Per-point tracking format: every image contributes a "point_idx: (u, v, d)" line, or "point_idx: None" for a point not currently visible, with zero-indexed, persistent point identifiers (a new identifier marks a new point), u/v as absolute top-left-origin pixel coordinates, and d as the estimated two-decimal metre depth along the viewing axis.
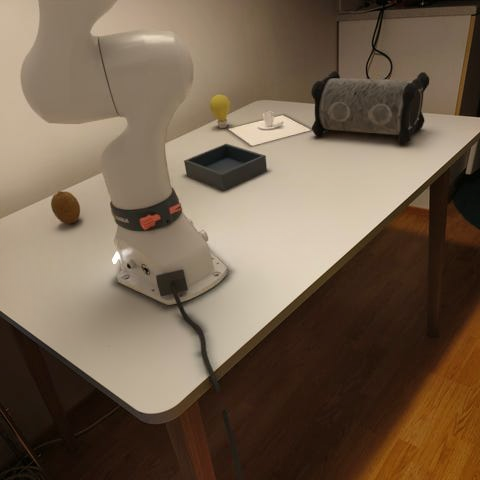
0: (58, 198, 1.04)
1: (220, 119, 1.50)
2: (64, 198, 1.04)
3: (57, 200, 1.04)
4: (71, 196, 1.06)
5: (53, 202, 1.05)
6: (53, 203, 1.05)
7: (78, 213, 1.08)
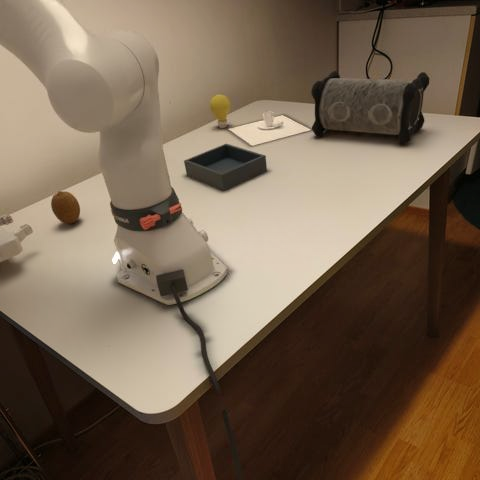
0: (58, 198, 1.04)
1: (220, 119, 1.50)
2: (64, 198, 1.04)
3: (57, 200, 1.04)
4: (71, 196, 1.06)
5: (53, 202, 1.05)
6: (53, 203, 1.05)
7: (78, 213, 1.08)
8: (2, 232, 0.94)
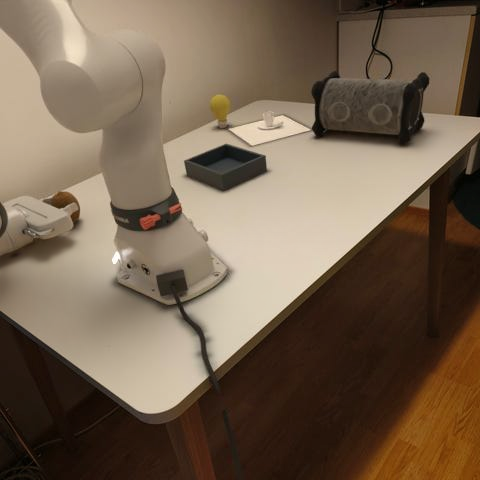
0: (59, 198, 1.04)
1: (220, 119, 1.50)
2: (64, 198, 1.04)
3: (58, 200, 1.04)
4: (71, 196, 1.06)
5: (53, 202, 1.04)
6: (53, 203, 1.05)
7: (78, 213, 1.08)
8: (54, 209, 1.00)
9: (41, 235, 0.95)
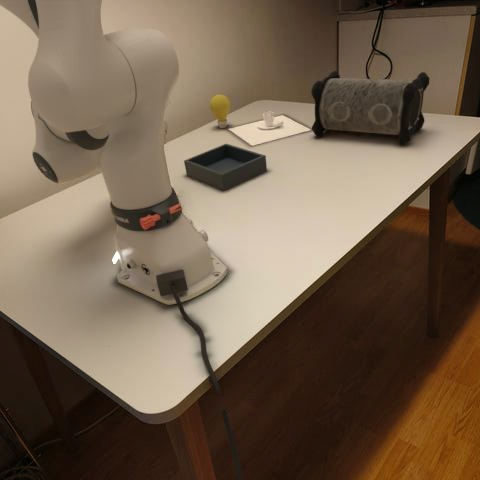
0: None
1: (220, 119, 1.50)
2: None
3: None
4: None
5: None
6: None
7: None
8: None
9: None
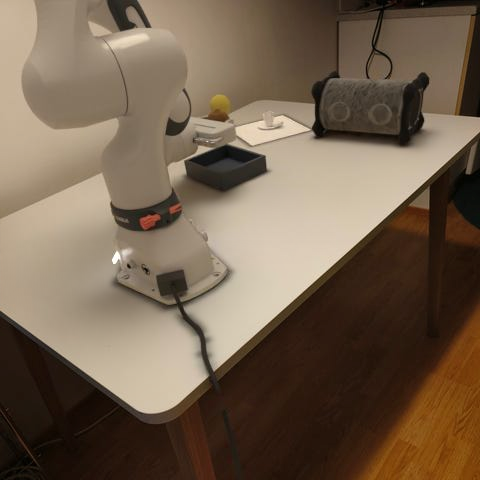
0: (217, 114, 1.11)
1: None
2: (222, 115, 1.11)
3: (216, 116, 1.11)
4: (227, 114, 1.12)
5: (211, 118, 1.11)
6: (211, 119, 1.11)
7: None
8: (218, 122, 1.07)
9: (215, 142, 1.02)
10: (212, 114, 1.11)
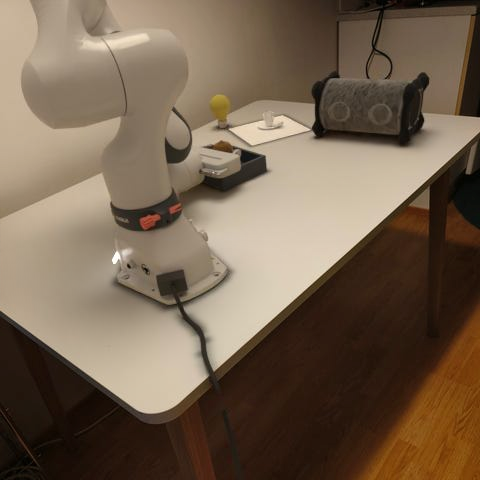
0: (221, 146, 1.16)
1: (220, 119, 1.50)
2: (226, 146, 1.16)
3: (220, 148, 1.16)
4: (230, 145, 1.17)
5: None
6: None
7: None
8: (223, 152, 1.11)
9: (220, 173, 1.06)
10: (216, 146, 1.16)
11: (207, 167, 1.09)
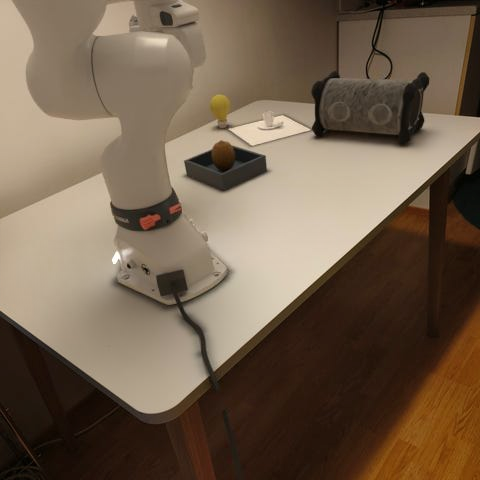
0: (221, 146, 1.16)
1: (220, 119, 1.50)
2: (226, 146, 1.16)
3: (220, 147, 1.16)
4: (230, 145, 1.17)
5: (216, 150, 1.16)
6: (215, 151, 1.16)
7: (234, 161, 1.19)
8: None
9: None
10: (216, 146, 1.16)
11: None
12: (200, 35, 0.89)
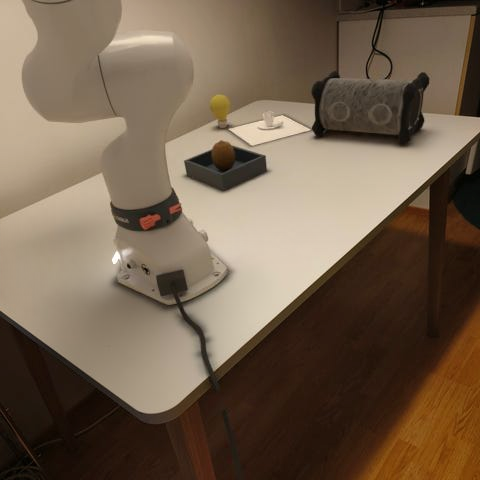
0: (221, 146, 1.16)
1: (220, 119, 1.50)
2: (226, 146, 1.16)
3: (220, 147, 1.16)
4: (230, 145, 1.17)
5: (216, 150, 1.16)
6: (215, 151, 1.16)
7: (234, 161, 1.19)
8: None
9: None
10: (216, 146, 1.16)
11: None
12: None
